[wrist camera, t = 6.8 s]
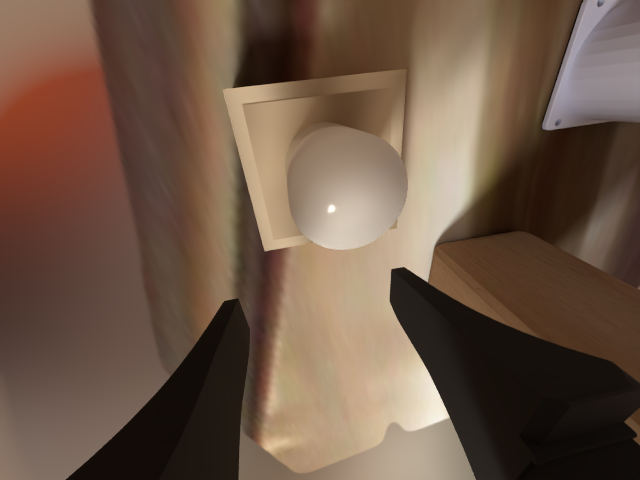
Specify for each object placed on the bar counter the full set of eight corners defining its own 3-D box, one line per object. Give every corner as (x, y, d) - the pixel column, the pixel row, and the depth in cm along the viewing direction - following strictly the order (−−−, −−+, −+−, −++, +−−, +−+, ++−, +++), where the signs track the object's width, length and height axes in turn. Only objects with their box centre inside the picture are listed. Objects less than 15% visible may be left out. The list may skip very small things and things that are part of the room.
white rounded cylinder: (368, 122, 14) (419, 132, 9) (359, 203, 17) (396, 247, 12) (283, 120, 14) (286, 130, 9) (286, 205, 16) (290, 252, 11)
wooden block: (524, 225, 25) (1103, 513, 7) (496, 298, 30) (802, 571, 12) (431, 240, 24) (851, 614, 6) (418, 314, 29) (635, 632, 11)
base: (385, 73, 16) (407, 68, 13) (381, 212, 21) (396, 228, 18) (231, 91, 15) (222, 89, 13) (265, 232, 20) (264, 251, 18)
